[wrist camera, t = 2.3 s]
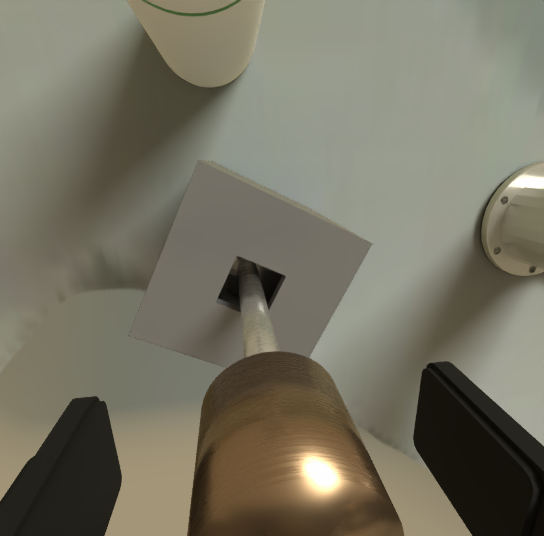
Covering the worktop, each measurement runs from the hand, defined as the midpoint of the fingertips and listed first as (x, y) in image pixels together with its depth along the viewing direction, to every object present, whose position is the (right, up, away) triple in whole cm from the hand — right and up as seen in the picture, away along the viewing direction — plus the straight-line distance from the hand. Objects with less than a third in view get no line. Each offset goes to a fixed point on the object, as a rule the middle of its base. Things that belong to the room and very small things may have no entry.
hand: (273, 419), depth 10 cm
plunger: (-2, +5, +15) cm, 16 cm away
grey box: (-3, +8, +24) cm, 25 cm away
